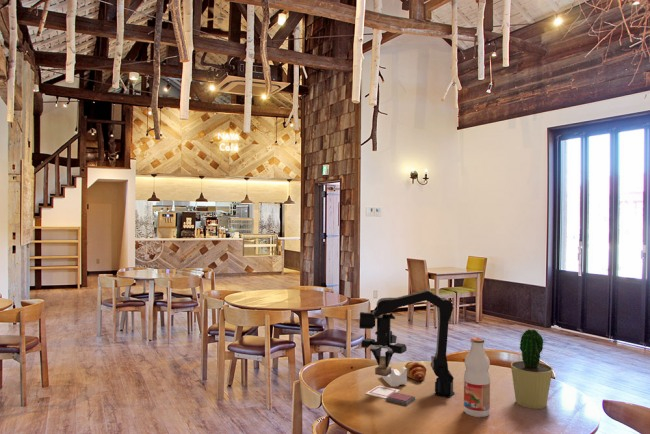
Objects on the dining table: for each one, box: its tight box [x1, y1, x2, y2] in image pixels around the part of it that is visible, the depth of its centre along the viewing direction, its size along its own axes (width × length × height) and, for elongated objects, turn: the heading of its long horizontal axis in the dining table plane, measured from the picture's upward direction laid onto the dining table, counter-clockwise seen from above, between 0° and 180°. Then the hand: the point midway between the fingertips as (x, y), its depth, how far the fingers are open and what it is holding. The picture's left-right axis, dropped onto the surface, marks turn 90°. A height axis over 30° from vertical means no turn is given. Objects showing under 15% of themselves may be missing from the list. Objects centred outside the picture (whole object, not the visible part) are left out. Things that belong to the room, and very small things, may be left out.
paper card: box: [365, 385, 401, 400], centre depth 210 cm, size 10×12×1 cm
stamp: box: [374, 355, 392, 377], centre depth 210 cm, size 5×5×7 cm
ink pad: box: [385, 392, 416, 407], centre depth 201 cm, size 9×8×2 cm
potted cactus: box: [510, 328, 553, 410], centre depth 199 cm, size 15×15×30 cm
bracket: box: [381, 366, 408, 388], centre depth 224 cm, size 13×7×8 cm, turn 13°
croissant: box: [404, 361, 427, 382], centre depth 233 cm, size 21×10×8 cm, turn 5°
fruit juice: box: [463, 336, 491, 418], centre depth 189 cm, size 9×9×28 cm
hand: (383, 366), depth 210 cm, fingers closed on stamp, 3 cm apart
